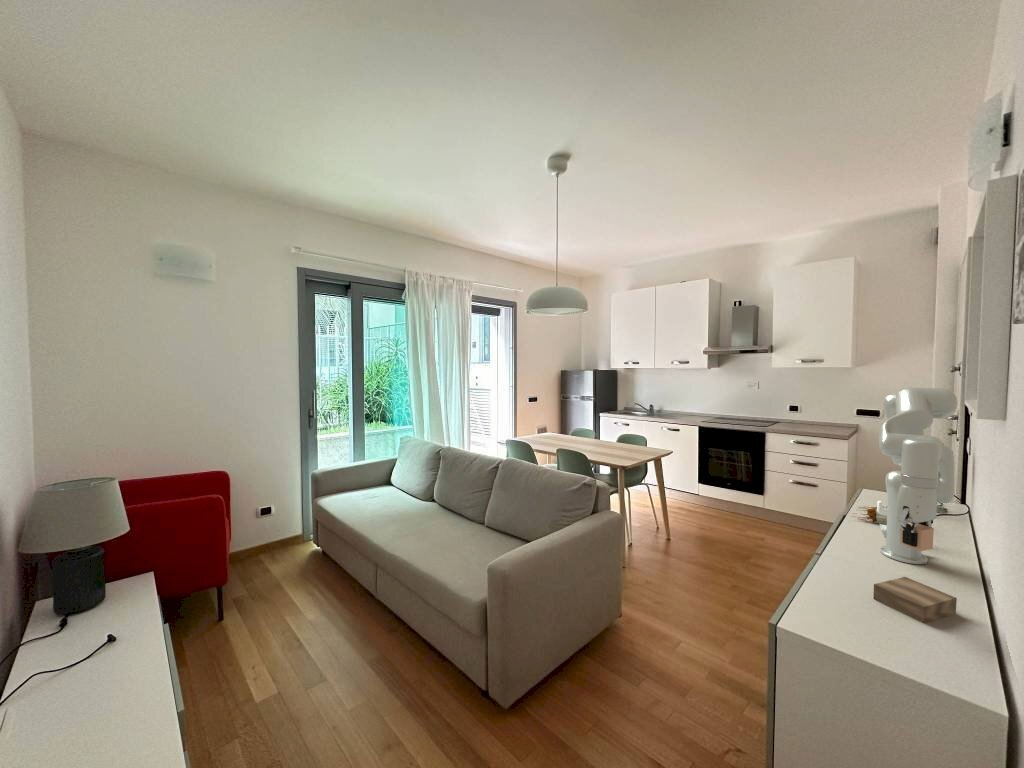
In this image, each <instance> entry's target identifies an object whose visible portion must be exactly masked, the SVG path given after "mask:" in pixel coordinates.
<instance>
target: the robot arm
mask: <svg viewBox="0 0 1024 768" xmlns="http://www.w3.org/2000/svg"><path fill="white" fill-rule="evenodd" d="M957 409H958V398H957V395H956V394H955V392H954V391H952V390H951V389H948V388H941V387H940V388H938V387H933V388H932V387H907V388H904V389H900V390H899V391H898V392H896V393H892V394H888V395H886V396H885V397H884V398H883V410H884V413H885V416H886V418H887V419H886V420H885V421H884V422H883V423H882V424H881V425H880V428H879V431H878V447H879V451H880V452H881V454H882V455H884V456H886V457H889V458H891V461H892V462H893V464H894V465H895V466H898V467H901V470H892V471H889V472H888V473H886V475H885V479H884V481H885V489H886V497H887V498H886V503H887V505H886V506H887V529H886V538H885V545H883V546H880V548H879V551H880V553H881V554H882V555H884V556H885V557H887V558H890V559H893V560H894V561H899V562H901V563H906V564H912V565H913V564H914V565H925V564H927V563H928V561H929V559H928V557H927V556H926V555H925V554H923V551H919V550H916V549H913V548H911V547H908V546H905V545H902V544H900V529H901V526H902V530H903V536H902V542H903V543H905V544H908V545H911V546H913V547H917V537H918V533H916V529H917V525H918V524H921V525H924V526H928V527H931V528H933V527H932V526H933V523H934V520H936V518H937V513H938V504H941V503H942V504H949V503H951V502H952V501H953V500H954V497H955V456H954V453H953V450H952V449H951V448H950V447H949V446H947V445H946V444H945V442H943V441H942V440H941V439H940V438H938V437H936V436H932V435H925V432H924V430H926V429H928V428H930V427H931V426H932V424H933V423H934V419H936V420H937V419H938V420H939V419H940V420H941V419H942V420H943V419H948V418H950V417H951V416H952V415H954V413H956V411H957ZM908 522H909V523H913V524H912V527H911V525H910V524H908Z"/></svg>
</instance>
